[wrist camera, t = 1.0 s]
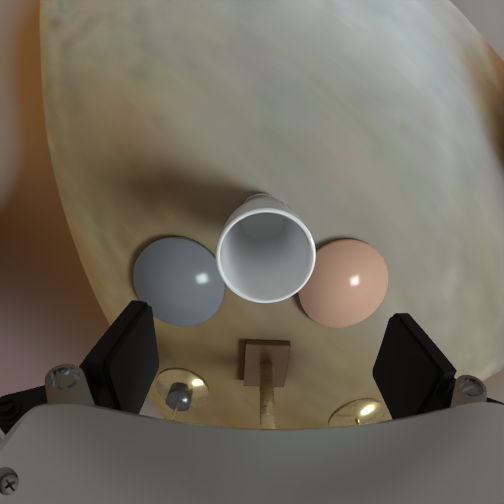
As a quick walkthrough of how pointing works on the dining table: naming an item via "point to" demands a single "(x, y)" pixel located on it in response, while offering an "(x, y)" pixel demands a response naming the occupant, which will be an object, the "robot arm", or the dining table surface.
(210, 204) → the dining table surface
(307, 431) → the robot arm
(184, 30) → the dining table surface
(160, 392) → the balance
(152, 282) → the dish slate
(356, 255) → the pink dome
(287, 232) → the drinking glass
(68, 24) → the dining table surface
